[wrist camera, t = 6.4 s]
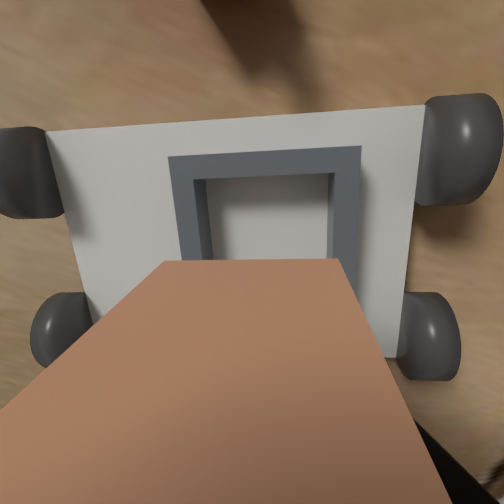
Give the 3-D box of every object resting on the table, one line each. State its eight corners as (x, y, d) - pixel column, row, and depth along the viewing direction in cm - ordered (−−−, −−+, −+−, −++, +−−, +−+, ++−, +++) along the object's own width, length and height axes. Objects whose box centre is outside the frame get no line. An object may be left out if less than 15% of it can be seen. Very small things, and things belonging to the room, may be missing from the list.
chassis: (414, 344, 18) (452, 401, 14) (91, 338, 21) (43, 385, 17) (448, 101, 14) (515, 82, 10) (37, 131, 17) (-46, 125, 13)
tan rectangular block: (331, 417, 9) (408, 881, 3) (187, 410, 9) (40, 799, 4) (338, 258, 7) (509, 625, 2) (164, 260, 8) (-149, 547, 2)
